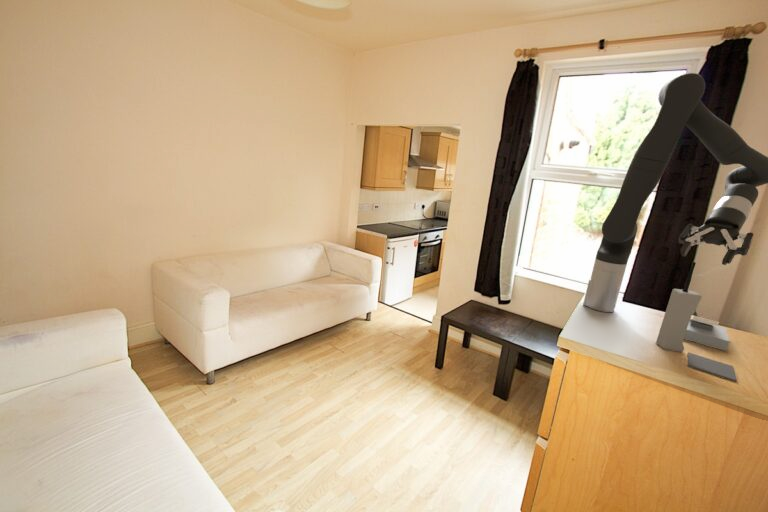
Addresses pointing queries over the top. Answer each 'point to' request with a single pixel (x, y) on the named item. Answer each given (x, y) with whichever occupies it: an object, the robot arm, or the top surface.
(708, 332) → the block
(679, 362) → the top surface
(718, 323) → the block
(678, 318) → the vintage mobile phone
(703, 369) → the rubber mat
